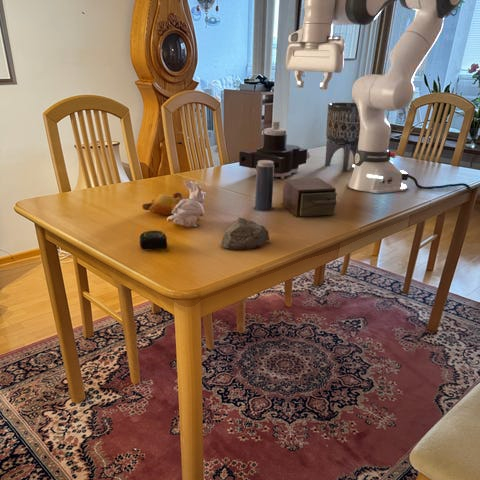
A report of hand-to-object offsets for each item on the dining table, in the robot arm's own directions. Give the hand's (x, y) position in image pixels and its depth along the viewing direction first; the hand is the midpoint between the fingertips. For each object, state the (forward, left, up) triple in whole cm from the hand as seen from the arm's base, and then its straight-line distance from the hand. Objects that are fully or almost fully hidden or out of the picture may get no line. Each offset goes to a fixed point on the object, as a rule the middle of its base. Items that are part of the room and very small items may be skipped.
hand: (311, 88), depth 141 cm
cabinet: (+2, +9, -35) cm, 37 cm away
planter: (-39, -51, -36) cm, 74 cm away
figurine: (+43, +18, -36) cm, 58 cm away
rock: (+29, +37, -36) cm, 59 cm away
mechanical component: (-6, -43, -36) cm, 56 cm away
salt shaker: (+16, +6, -35) cm, 39 cm away
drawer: (+2, +15, -35) cm, 38 cm away
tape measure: (+54, +36, -36) cm, 74 cm away
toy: (+48, +4, -36) cm, 60 cm away
